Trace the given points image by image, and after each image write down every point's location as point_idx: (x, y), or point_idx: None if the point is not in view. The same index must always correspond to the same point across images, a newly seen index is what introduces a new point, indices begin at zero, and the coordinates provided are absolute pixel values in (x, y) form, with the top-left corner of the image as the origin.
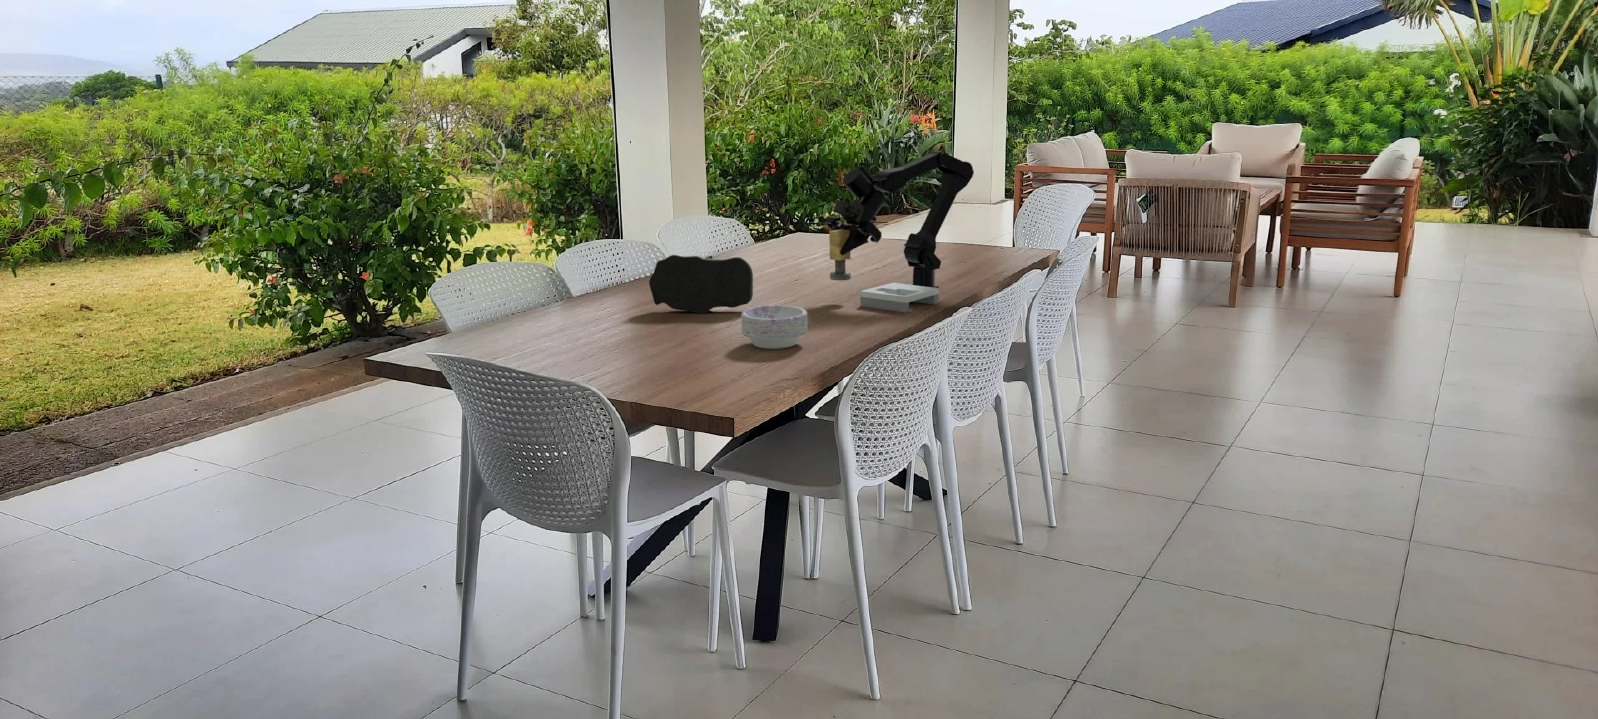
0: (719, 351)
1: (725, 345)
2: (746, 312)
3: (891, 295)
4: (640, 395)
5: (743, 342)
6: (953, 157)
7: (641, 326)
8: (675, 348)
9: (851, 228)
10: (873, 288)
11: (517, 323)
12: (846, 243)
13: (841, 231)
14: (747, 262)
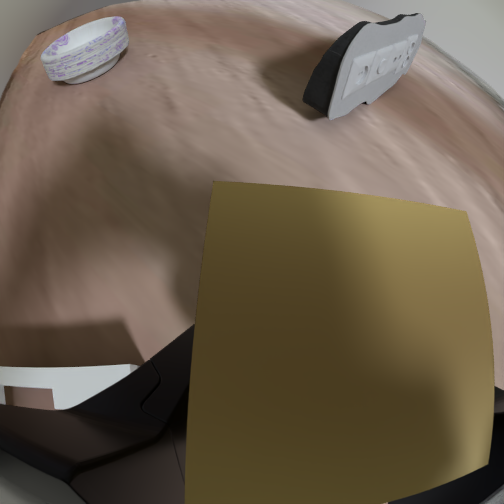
0: (131, 36)
1: (143, 41)
2: (114, 19)
3: (16, 367)
4: (106, 8)
5: (134, 52)
6: None
7: (310, 34)
8: (181, 21)
9: (17, 437)
10: None
11: None
12: (170, 354)
13: (283, 323)
14: (354, 38)
